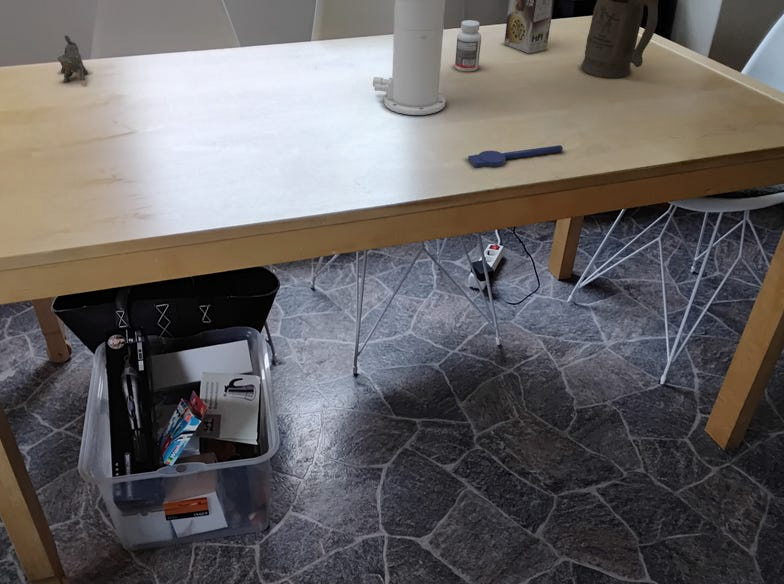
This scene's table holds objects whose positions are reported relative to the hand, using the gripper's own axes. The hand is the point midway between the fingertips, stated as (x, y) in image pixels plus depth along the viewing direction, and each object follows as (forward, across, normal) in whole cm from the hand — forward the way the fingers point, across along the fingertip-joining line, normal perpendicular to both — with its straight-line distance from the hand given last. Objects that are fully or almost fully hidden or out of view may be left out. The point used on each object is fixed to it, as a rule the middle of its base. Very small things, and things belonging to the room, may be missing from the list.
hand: (620, 1), depth 145 cm
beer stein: (+18, -12, +2) cm, 21 cm away
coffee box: (+18, -23, -20) cm, 35 cm away
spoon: (+18, +40, -11) cm, 46 cm away
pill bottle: (+18, -3, -30) cm, 35 cm away
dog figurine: (+20, +34, -109) cm, 116 cm away
